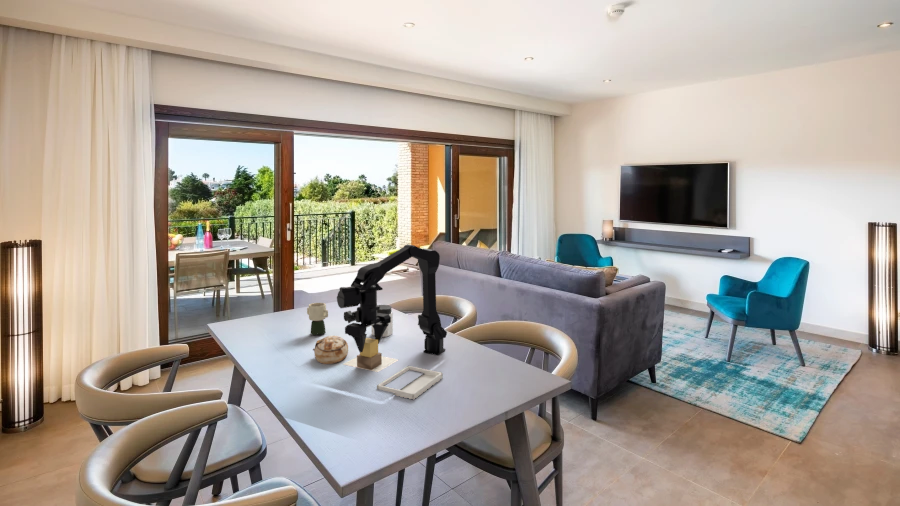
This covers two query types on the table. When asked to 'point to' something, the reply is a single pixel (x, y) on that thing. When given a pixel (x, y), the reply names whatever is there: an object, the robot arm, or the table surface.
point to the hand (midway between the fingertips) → (369, 347)
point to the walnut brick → (369, 361)
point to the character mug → (317, 317)
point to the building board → (385, 363)
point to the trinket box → (331, 350)
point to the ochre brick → (370, 347)
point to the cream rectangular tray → (413, 383)
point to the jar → (389, 330)
